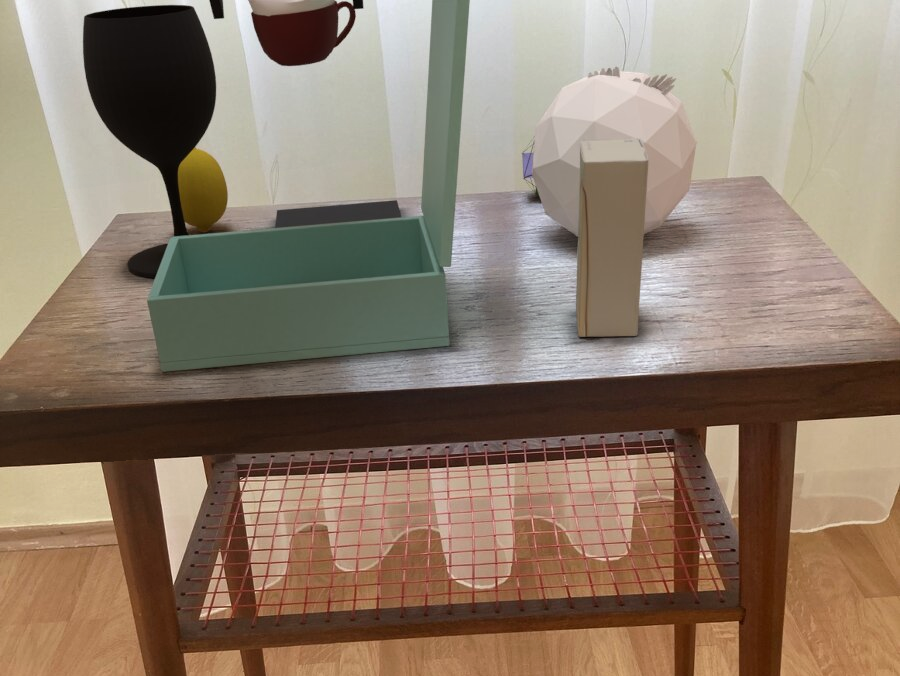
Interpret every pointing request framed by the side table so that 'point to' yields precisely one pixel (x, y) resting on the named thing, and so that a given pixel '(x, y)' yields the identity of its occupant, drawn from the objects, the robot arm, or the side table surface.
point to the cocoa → (299, 29)
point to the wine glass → (152, 92)
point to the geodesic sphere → (606, 118)
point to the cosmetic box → (610, 236)
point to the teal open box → (298, 294)
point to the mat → (337, 214)
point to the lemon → (202, 190)
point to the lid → (444, 122)
